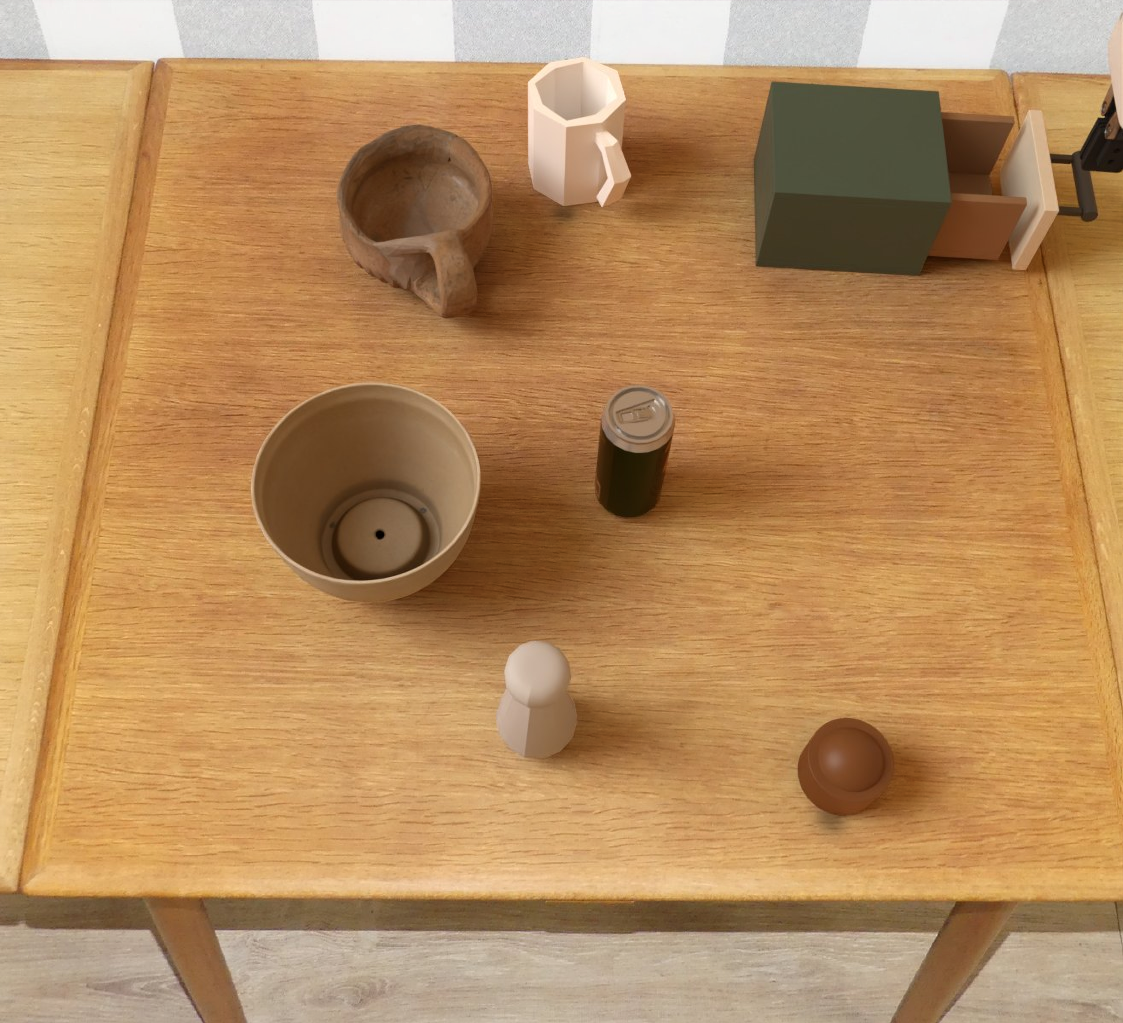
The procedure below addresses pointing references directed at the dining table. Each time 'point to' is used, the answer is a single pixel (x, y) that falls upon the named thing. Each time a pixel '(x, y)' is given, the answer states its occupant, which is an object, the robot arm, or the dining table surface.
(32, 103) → the dining table surface
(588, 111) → the mug
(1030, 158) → the drawer
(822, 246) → the cabinet
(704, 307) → the dining table surface
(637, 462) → the beer can
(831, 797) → the brown dome knob
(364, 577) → the planter bowl
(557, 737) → the salt shaker
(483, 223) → the brown clay cup
